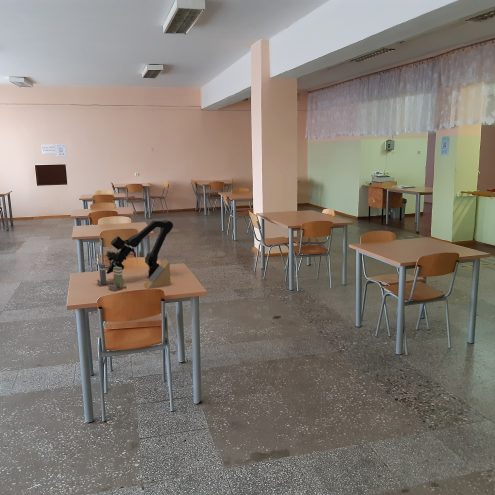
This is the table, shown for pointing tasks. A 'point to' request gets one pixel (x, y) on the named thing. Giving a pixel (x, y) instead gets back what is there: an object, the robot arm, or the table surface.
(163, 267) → the sandwich container
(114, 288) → the key rack
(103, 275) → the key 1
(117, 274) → the green striped block
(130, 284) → the table surface
